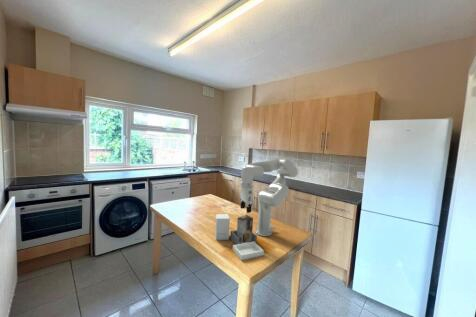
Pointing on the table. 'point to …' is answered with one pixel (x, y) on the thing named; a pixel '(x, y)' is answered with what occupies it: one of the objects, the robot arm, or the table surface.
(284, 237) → the table surface
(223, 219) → the supplement box
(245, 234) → the coffee box
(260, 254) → the tray
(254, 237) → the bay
